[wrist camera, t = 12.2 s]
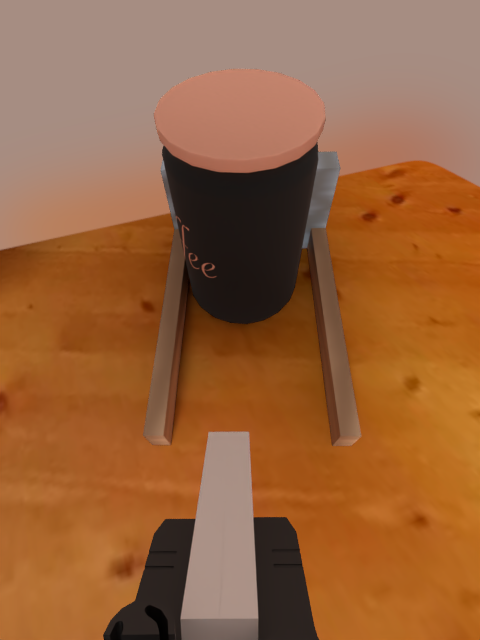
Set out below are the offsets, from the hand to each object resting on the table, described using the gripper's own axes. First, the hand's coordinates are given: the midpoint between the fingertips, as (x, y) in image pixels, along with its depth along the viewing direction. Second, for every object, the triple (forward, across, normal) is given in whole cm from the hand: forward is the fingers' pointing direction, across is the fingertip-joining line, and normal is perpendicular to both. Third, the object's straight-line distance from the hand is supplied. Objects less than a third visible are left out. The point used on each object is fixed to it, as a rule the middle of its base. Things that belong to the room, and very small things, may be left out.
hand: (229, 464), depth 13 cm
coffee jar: (+25, +1, +3) cm, 25 cm away
